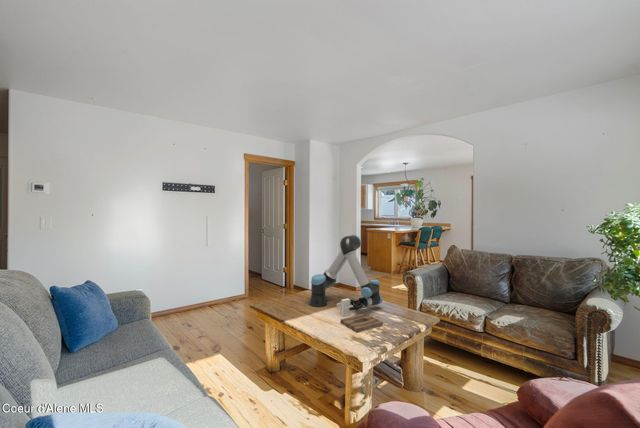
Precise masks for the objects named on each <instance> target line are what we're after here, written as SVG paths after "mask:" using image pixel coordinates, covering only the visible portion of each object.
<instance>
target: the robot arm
mask: <svg viewBox="0 0 640 428" xmlns="http://www.w3.org/2000/svg"><path fill="white" fill-rule="evenodd" d="M339 243H340V244H339V246H340V251H339V253H338V254H337V256H336V257H335V259H333V262H332V264H331V265H330V266H329V268H328V269H325V271H324V272H323V273H321V274H315V275H313V276H312V277H311V281H310V283H311V289H310V290H311V293H310V294H311V295H310V299H309V301H308V304H309V306H310V307H315V308H322V307H326V306H328V304H329V302H328V298H327V294H326V289H328V288H331V287H333V286H334V285H335V284H336V282H337V279H338V276H337V275H338V274H339V272H341V270H342V268H343V267H344V265H345V264H346V263H347V262H348V264H349V267H350V268H351V271H352V272H353V275H354V276H355V279H356V281H357V283H358V284H359V287H360V289H361V290H360V294H361V296H362V297H359V298H358V299H354V298H352V299H350V306H349V307H345V311H350V312H351V311H356V312H357V311H359V310H361V309H364V308H368V307H372V306H377V305H380V304H382V303H383V296H382V294H380V285H381V284H380V281H379V280H378V279H375V278H374V279H370V280H369V279H368V277H367V275H366V274H365V271H364V269H363V267H362V265H361V263H360V261H359V258H358V257H357V255H356V250H357V249H359V248H361V245H362V239H361V238H360V237H359V236H358V235H356V234H352V235H346V236H344V237H342V239H341V240H340V242H339ZM336 308H341V301H340V302H338V303H336Z"/></svg>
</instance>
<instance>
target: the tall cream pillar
mask: <svg viewBox="0 0 640 428" xmlns="http://www.w3.org/2000/svg"><path fill="white" fill-rule="evenodd" d="M350 300H351V299H350V298H349V297H348V298H347V297H346V298H342V299H341V300H340V302H341V306H340V308H341V310H340V313H341V317H343V318H347V317H351V310H350V311H345V307H349V306H351V305H350Z"/></svg>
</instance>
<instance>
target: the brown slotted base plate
mask: <svg viewBox="0 0 640 428" xmlns="http://www.w3.org/2000/svg"><path fill="white" fill-rule="evenodd" d="M340 324H341V325H343V326H345V327H347V328H348V329H349V330H351V331H353V332H355V333H360V332H364V331H368V330H371V329H376V328H377V327H381V326H383V321H382V320H380V319H378V318H377V317H374V316H372V315H370V314H368V313H366V312H365V313H364V312H363V313H361V314H357V315H352V316H347V317H343V318H341V319H340Z"/></svg>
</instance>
